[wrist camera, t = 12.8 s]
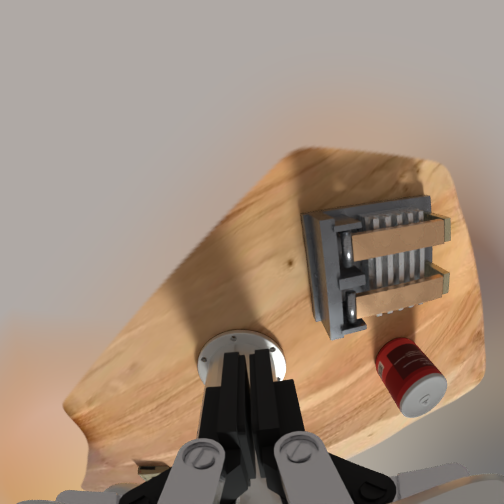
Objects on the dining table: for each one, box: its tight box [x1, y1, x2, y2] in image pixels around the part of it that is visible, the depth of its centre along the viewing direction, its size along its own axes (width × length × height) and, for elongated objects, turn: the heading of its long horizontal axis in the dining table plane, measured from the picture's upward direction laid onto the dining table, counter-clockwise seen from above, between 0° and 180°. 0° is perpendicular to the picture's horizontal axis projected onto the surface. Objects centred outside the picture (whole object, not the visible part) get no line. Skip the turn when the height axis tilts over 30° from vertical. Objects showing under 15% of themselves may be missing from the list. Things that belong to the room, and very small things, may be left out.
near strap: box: [340, 219, 444, 267], centre depth 30 cm, size 4×13×1 cm, turn 100°
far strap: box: [345, 274, 443, 324], centre depth 31 cm, size 4×13×1 cm, turn 100°
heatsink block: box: [300, 195, 451, 340], centre depth 33 cm, size 14×18×7 cm
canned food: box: [376, 338, 447, 418], centre depth 36 cm, size 8×8×11 cm
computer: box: [138, 466, 169, 481], centre depth 49 cm, size 16×8×3 cm, turn 18°
